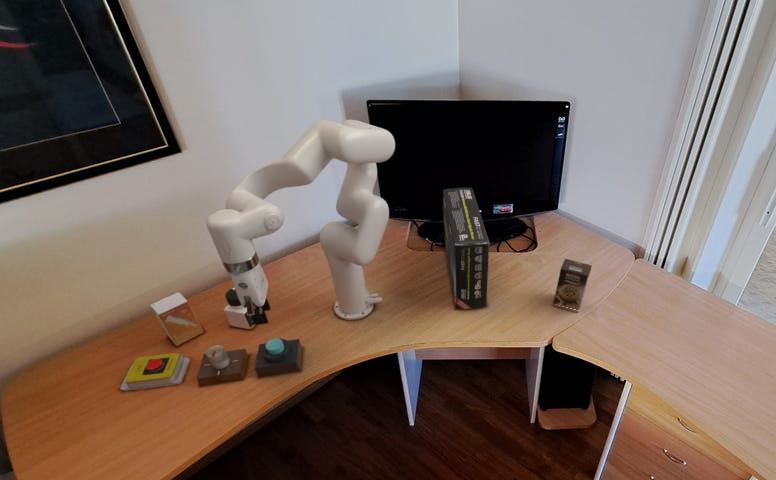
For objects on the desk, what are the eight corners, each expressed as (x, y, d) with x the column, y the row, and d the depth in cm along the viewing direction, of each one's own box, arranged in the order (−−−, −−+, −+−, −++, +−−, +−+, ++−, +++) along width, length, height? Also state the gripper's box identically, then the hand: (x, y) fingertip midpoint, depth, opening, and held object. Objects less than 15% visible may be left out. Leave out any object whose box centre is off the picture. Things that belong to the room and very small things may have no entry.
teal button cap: (285, 342, 127) (283, 337, 125) (283, 353, 123) (281, 348, 122) (268, 344, 126) (266, 339, 124) (266, 356, 123) (264, 351, 121)
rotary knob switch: (248, 355, 130) (245, 348, 128) (243, 379, 123) (239, 372, 121) (207, 361, 128) (203, 353, 126) (200, 385, 121) (195, 378, 119)
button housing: (302, 348, 133) (297, 334, 129) (300, 371, 126) (294, 357, 122) (263, 353, 131) (257, 339, 127) (258, 377, 124) (252, 363, 120)
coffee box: (552, 306, 151) (559, 268, 140) (557, 294, 155) (564, 257, 145) (578, 313, 148) (588, 275, 138) (582, 302, 153) (592, 264, 142)
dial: (214, 358, 125) (207, 345, 121) (231, 356, 125) (225, 343, 122) (210, 370, 121) (203, 357, 118) (228, 368, 122) (221, 355, 119)
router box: (443, 250, 173) (441, 187, 156) (471, 248, 175) (472, 186, 157) (455, 311, 147) (454, 244, 129) (487, 308, 149) (491, 242, 131)
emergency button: (174, 373, 118) (111, 381, 116) (181, 383, 121) (120, 391, 119) (184, 348, 125) (125, 354, 123) (190, 358, 128) (133, 365, 126)
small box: (177, 347, 131) (157, 315, 123) (168, 336, 134) (148, 304, 126) (204, 332, 136) (187, 300, 128) (195, 322, 139) (178, 291, 131)
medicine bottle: (251, 330, 137) (238, 301, 130) (230, 326, 138) (217, 297, 131) (264, 314, 143) (253, 286, 135) (244, 311, 144) (232, 282, 136)
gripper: (252, 280, 99) (274, 337, 111) (262, 239, 111) (281, 294, 123) (216, 284, 98) (242, 341, 110) (230, 242, 110) (252, 297, 122)
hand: (262, 316), depth 116 cm, fingers open, 4 cm apart
